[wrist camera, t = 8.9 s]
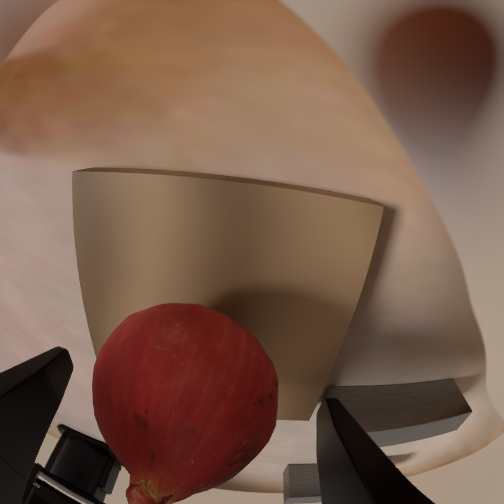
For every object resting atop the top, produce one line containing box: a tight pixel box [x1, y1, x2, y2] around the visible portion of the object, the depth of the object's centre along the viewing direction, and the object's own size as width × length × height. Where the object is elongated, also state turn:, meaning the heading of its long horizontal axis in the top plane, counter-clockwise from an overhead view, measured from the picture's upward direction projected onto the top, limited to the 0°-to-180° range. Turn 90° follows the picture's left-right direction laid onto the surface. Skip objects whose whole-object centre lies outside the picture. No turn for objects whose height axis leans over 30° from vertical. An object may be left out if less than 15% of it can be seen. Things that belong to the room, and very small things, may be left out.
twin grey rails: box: [283, 379, 472, 504], centre depth 15 cm, size 10×13×4 cm
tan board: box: [72, 168, 384, 421], centre depth 12 cm, size 12×12×2 cm
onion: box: [92, 303, 279, 504], centre depth 7 cm, size 6×6×8 cm
